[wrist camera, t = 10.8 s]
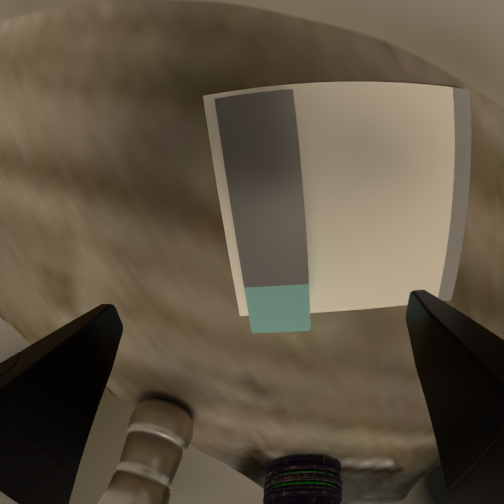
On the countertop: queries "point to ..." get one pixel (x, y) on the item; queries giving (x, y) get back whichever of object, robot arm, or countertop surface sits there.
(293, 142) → the marker
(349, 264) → the notepad
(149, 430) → the plastic bottle
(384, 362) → the countertop surface
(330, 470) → the storage jar
